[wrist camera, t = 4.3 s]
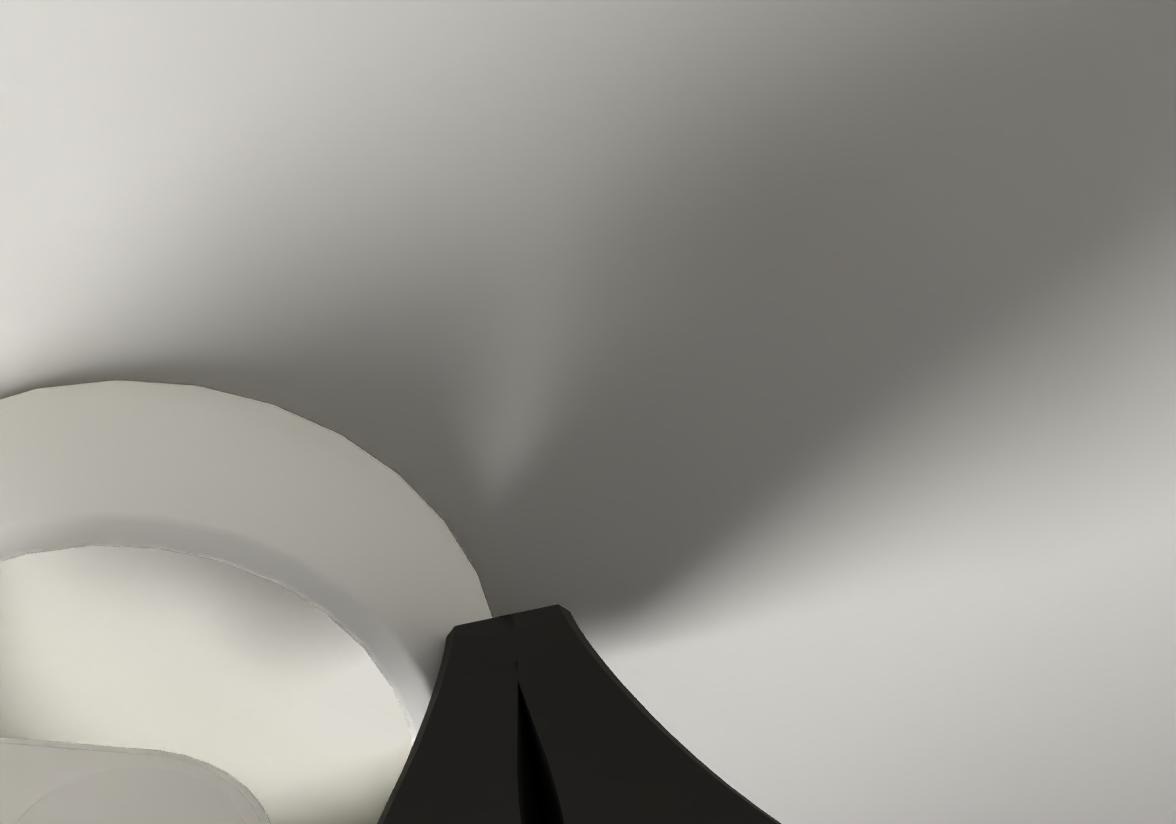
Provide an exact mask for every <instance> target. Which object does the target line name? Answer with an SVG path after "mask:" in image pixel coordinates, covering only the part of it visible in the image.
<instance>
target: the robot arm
mask: <svg viewBox="0 0 1176 824" xmlns="http://www.w3.org/2000/svg"><path fill="white" fill-rule="evenodd" d="M377 824H781V823H780V822H778V821H777V820H775V819H774V818H772V817H771V816H770V815H768V814H767V813H765V812H764V811H762V810H761V809H760V808H758V807H757V806H756V805H754V804H753V803H752V802H750V801H749V800H748V799H747V798H745V797H744V796H743V795H741V794H740V793H739V792H737V791H736V790H735V789H733V788H732V787H731V786H730V785H728V784H727V783H726V782H725V781H723V780H722V779H721V778H720V777H718V776H717V775H716V774H715V773H714V772H712V771H711V770H710V769H709V768H708V767H707V766H706V765H704V764H703V763H702V762H701V761H700V760H699V759H697V758H696V757H695V756H694V755H693V754H692V753H691V752H690V751H689V750H688V749H686V748H685V747H684V746H683V745H682V744H681V743H680V742H679V741H678V740H677V739H676V738H674V737H673V736H672V735H671V734H670V733H669V732H668V731H667V730H666V729H665V728H664V727H663V726H662V725H661V724H660V723H659V722H658V721H657V720H656V719H655V718H654V717H653V716H652V715H651V714H650V713H649V712H648V711H647V710H646V709H645V707H644V706H643V705H642V704H641V703H640V702H639V701H638V700H637V699H636V698H635V697H634V696H633V695H632V694H631V692H630V691H629V690H628V689H627V688H626V687H625V686H624V685H623V684H622V683H621V682H620V680H619V679H618V678H617V677H616V676H615V675H614V673H613V672H612V671H611V670H610V669H609V667H608V666H607V665H606V664H605V662H604V661H603V660H602V659H601V657H600V656H599V655H598V654H597V652H596V651H595V650H594V649H593V647H592V646H591V644H590V643H589V642H588V640H587V639H586V638H585V636H584V635H583V633H582V632H581V630H580V629H579V627H578V625H577V624H576V622H575V621H574V619H573V617H572V615H571V613H570V612H569V611H568V610H566V609H565V608H563V607H562V606H560V605H559V604H558V605H553V606H548V607H543V608H538V609H534V610H529V611H524V612H519V613H514V614H509V615H505V616H500V617H495V618H490V619H485V620H480V621H476V622H471V623H466V624H461V625H456V626H454V628H453V629H452V630H451V632H450V633H449V634H448V635H447V637H446V642H445V648H444V653H443V657H442V662H441V666H440V669H439V673H438V676H437V680H436V683H435V686H434V689H433V692H432V695H431V698H430V701H429V704H428V707H427V710H426V713H425V715H424V718H423V721H422V723H421V726H420V728H419V731H418V733H417V736H416V739H415V741H414V744H413V746H412V749H411V751H410V754H409V756H408V759H407V761H406V763H405V766H404V768H403V770H402V772H401V775H400V777H399V779H398V781H397V783H396V785H395V787H394V789H393V791H392V793H391V796H390V798H389V800H388V802H387V804H386V806H385V808H384V810H383V812H382V814H381V817H380V819H379V821H378V823H377Z"/></svg>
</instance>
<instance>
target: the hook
mask: <svg viewBox="0 0 1176 824" xmlns="http://www.w3.org/2000/svg"><path fill="white" fill-rule="evenodd" d="M85 546H114V547H138V548H159V549H163V550H168V551H173V552H178V553H183V554H188V555H193V556H198V557H202V558H207V559H212V560H217V561H221V562H223V563H226V564H229V565H231V566H234V567H236V568H239V569H242V570H244V571H247V572H249V573H252V574H254V575H257V576H260V577H262V578H265V579H267V580H270V581H272V582H275V583H277V584H279V585H280V586H282V587H284V588H285V589H287V590H289V591H290V592H292V593H294V594H295V595H297V596H298V597H300V598H302V599H303V600H305V601H307V602H308V603H310V604H312V605H313V606H315V607H316V608H318V609H320V610H321V611H323V612H325V613H326V614H327V615H328V616H329V617H330V618H331V619H332V620H334V621H335V622H336V623H337V624H338V625H339V626H340V627H341V628H342V629H343V630H345V631H346V632H347V633H348V634H349V635H350V636H351V637H352V638H353V639H354V640H355V641H357V642H358V643H359V644H360V645H361V646H362V647H363V648H364V649H365V650H366V652H367V653H368V655H369V656H370V657H371V659H372V660H373V662H374V663H375V664H376V666H377V667H378V669H379V670H380V671H381V673H382V674H383V676H384V677H385V678H386V680H387V681H388V683H389V684H390V686H391V687H392V688H393V691H394V693H395V696H396V698H397V700H398V703H399V705H400V708H401V710H402V713H403V715H404V718H405V720H406V723H407V725H408V727H409V730H410V735H411V742H412V746H413V744H414V741H415V739H416V736H417V733H418V731H419V728H420V726H421V723H422V721H423V718H424V715H425V713H426V710H427V707H428V704H429V701H430V698H431V695H432V692H433V689H434V686H435V683H436V680H437V676H438V673H439V669H440V666H441V662H442V657H443V653H444V648H445V642H446V637H447V635H448V634H449V633H450V632H451V630H452V629H453V628H454V626H456V625H461V624H466V623H471V622H476V621H480V620H485V619H490V618H492V615H491V613H490V610H489V607H488V604H487V601H486V598H485V595H484V593H483V590H482V587H481V584H480V581H479V578H478V575H477V573H476V572H475V570H474V568H473V567H472V565H471V564H470V562H469V560H468V559H467V557H466V556H465V554H464V552H463V551H462V549H461V548H460V546H459V544H458V543H457V541H456V540H455V538H454V537H453V535H452V533H451V532H450V530H449V529H448V527H447V525H446V524H445V522H444V521H443V520H442V519H441V518H440V517H439V515H438V514H437V513H436V512H435V511H434V510H433V509H432V508H431V507H430V506H429V505H428V504H427V503H426V502H425V501H424V500H423V499H422V498H421V497H420V496H419V495H418V494H417V493H416V492H415V491H414V490H413V489H412V488H411V487H410V486H409V485H408V484H407V483H406V482H405V481H404V480H403V478H402V477H401V476H400V475H399V474H397V473H396V472H394V471H393V470H392V469H390V468H389V467H387V466H386V465H384V464H383V463H381V462H380V461H378V460H377V459H376V458H374V457H373V456H371V455H370V454H368V453H367V452H365V451H364V450H362V449H361V448H360V447H358V446H357V445H355V444H354V443H352V442H351V441H349V440H348V439H346V438H345V437H344V436H342V435H341V434H338V433H336V432H334V431H332V430H329V429H327V428H325V427H323V426H320V425H318V424H316V423H314V422H311V421H309V420H307V419H305V418H302V417H300V416H298V415H296V414H293V413H291V412H289V411H287V410H284V409H282V408H280V407H278V406H275V405H273V404H270V403H266V402H261V401H257V400H253V399H249V398H245V397H241V396H237V395H233V394H229V393H225V392H221V391H217V390H213V389H209V388H205V387H201V386H196V385H181V384H167V383H152V382H138V381H124V380H113V381H103V382H94V383H84V384H75V385H65V386H56V387H46V388H37V389H34V390H30V391H27V392H23V393H20V394H17V395H13V396H10V397H6V398H3V399H0V562H1V561H5V560H8V559H11V558H15V557H18V556H21V555H25V554H29V553H37V552H45V551H53V550H61V549H69V548H77V547H85ZM0 824H270V820H269V818H268V816H267V814H266V812H265V811H264V809H263V807H262V805H261V803H260V802H259V801H258V799H257V798H256V797H255V796H254V795H253V794H252V793H251V792H250V790H249V789H248V788H247V787H246V786H244V785H243V784H242V783H240V782H239V781H238V780H237V779H235V778H234V777H233V776H231V775H230V774H229V773H227V772H225V771H223V770H221V769H219V768H217V767H215V766H213V765H211V764H209V763H207V762H204V761H201V760H198V759H195V758H192V757H189V756H186V755H181V754H176V753H171V752H166V751H161V750H151V749H138V748H126V747H113V746H101V745H89V744H76V743H64V742H51V741H39V740H27V739H14V738H2V737H0Z"/></svg>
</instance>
